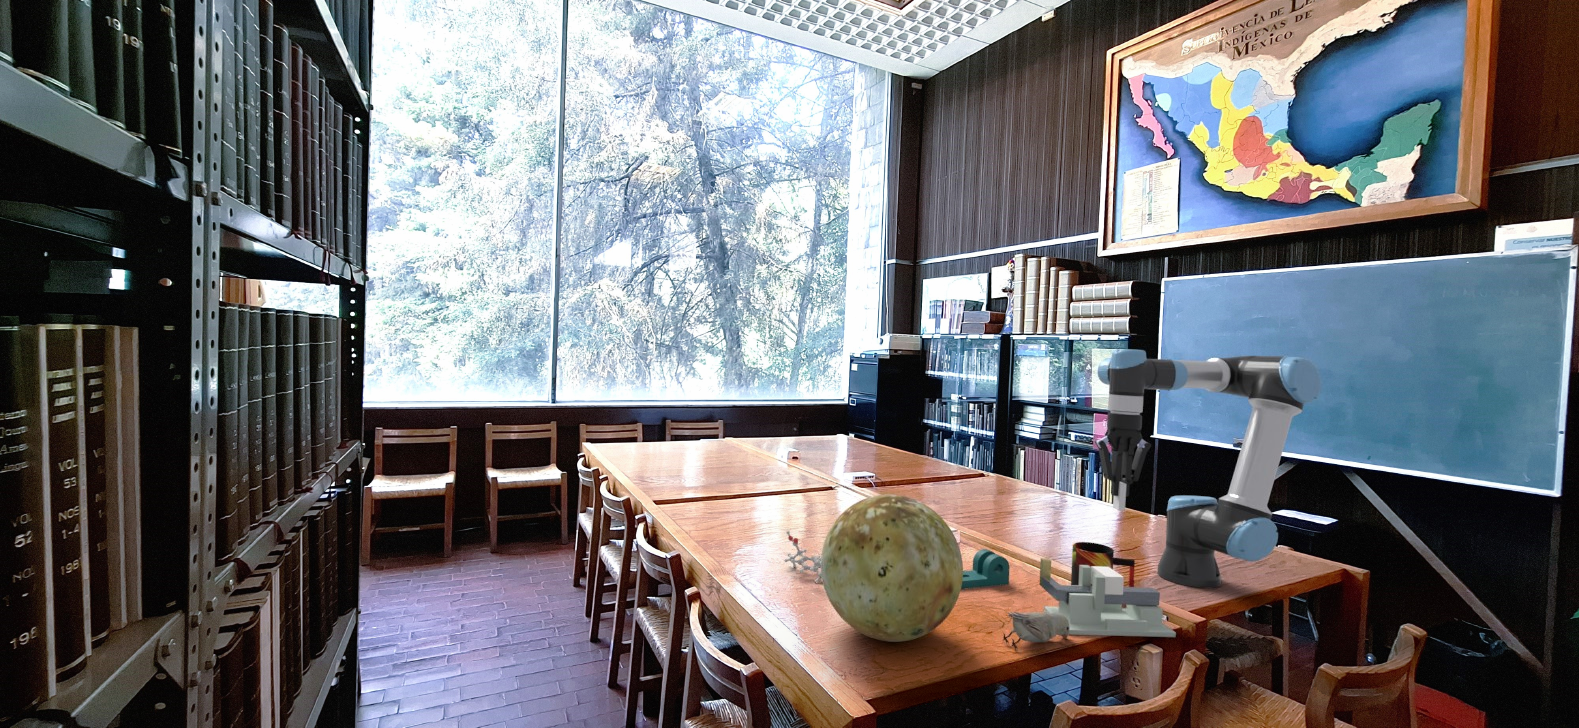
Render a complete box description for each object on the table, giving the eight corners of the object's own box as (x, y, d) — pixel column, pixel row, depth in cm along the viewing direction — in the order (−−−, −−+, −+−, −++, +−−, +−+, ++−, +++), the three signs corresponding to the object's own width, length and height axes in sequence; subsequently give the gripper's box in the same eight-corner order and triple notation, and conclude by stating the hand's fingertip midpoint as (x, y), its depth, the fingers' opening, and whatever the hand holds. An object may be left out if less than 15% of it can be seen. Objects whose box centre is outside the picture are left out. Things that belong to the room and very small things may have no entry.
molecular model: (845, 585, 171) (845, 548, 170) (810, 593, 167) (810, 555, 166) (811, 559, 188) (811, 525, 188) (779, 565, 184) (778, 531, 183)
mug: (1134, 599, 167) (1137, 552, 167) (1086, 601, 164) (1088, 554, 164) (1109, 585, 176) (1111, 541, 176) (1063, 587, 174) (1065, 542, 174)
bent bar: (1135, 589, 160) (1136, 560, 160) (1159, 605, 150) (1160, 575, 150) (1039, 586, 160) (1040, 558, 159) (1056, 602, 150) (1058, 572, 149)
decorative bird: (1076, 644, 140) (1077, 609, 140) (1014, 654, 135) (1016, 617, 135) (1057, 633, 145) (1059, 599, 145) (998, 642, 140) (999, 607, 140)
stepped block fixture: (1143, 613, 158) (1145, 563, 158) (1175, 636, 145) (1178, 583, 145) (1043, 610, 158) (1046, 560, 157) (1067, 634, 145) (1070, 580, 144)
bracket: (993, 576, 181) (994, 548, 181) (1008, 585, 175) (1009, 555, 175) (935, 581, 176) (936, 552, 175) (949, 590, 169) (950, 560, 169)
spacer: (1107, 583, 155) (1108, 566, 155) (1123, 594, 148) (1123, 577, 148) (1090, 583, 155) (1091, 566, 155) (1105, 594, 148) (1106, 576, 148)
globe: (862, 680, 122) (867, 519, 121) (796, 617, 149) (800, 485, 148) (990, 654, 134) (996, 508, 133) (907, 600, 161) (912, 478, 160)
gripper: (1142, 412, 164) (1136, 506, 164) (1090, 410, 163) (1085, 504, 164) (1160, 415, 156) (1154, 514, 157) (1106, 412, 156) (1099, 511, 156)
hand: (1118, 509), depth 160 cm, fingers closed
